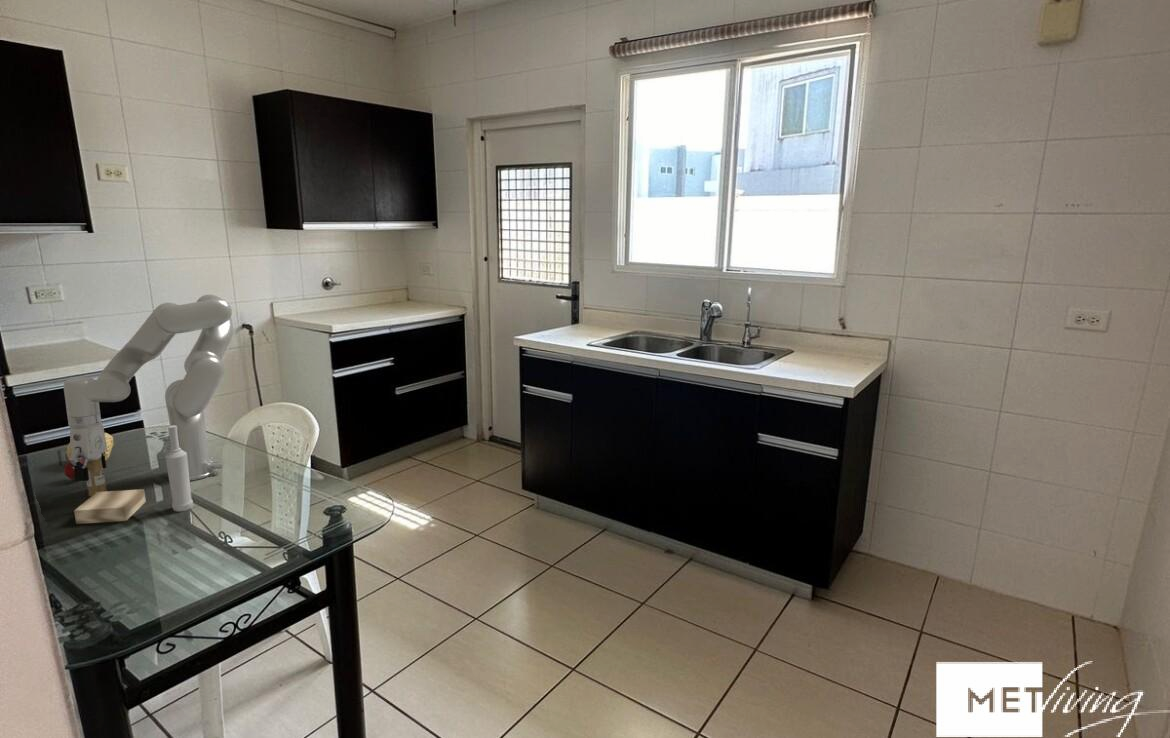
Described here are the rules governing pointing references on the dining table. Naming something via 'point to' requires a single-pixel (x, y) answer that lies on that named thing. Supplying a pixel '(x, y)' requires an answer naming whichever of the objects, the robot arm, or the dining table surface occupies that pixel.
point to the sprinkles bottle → (95, 476)
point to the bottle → (178, 474)
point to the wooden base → (110, 506)
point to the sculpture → (107, 452)
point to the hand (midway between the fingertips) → (91, 474)
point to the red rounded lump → (70, 470)
